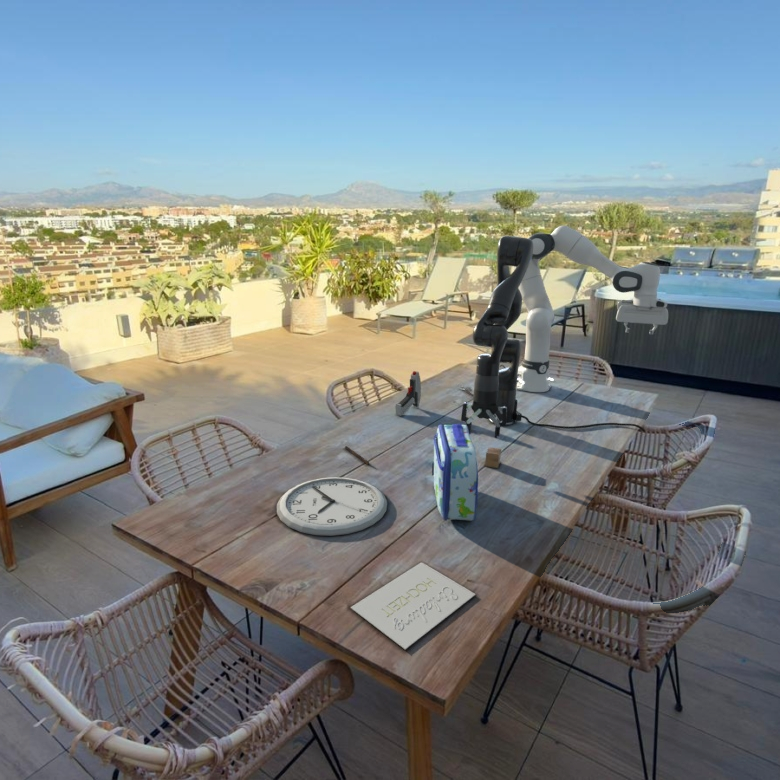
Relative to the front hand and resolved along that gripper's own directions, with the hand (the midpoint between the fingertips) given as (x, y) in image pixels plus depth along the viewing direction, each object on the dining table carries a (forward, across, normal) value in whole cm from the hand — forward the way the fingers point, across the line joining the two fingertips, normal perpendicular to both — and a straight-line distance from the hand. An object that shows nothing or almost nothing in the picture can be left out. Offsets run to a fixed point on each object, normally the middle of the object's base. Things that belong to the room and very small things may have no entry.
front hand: (482, 435), depth 169 cm
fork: (+8, -17, +74) cm, 76 cm away
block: (+9, +4, -1) cm, 10 cm away
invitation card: (+10, -4, -72) cm, 73 cm away
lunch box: (+9, -4, -30) cm, 32 cm away
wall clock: (+10, -35, -42) cm, 55 cm away
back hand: (-22, +55, +87) cm, 105 cm away
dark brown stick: (+9, -40, -10) cm, 42 cm away
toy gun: (+9, -35, +39) cm, 53 cm away
